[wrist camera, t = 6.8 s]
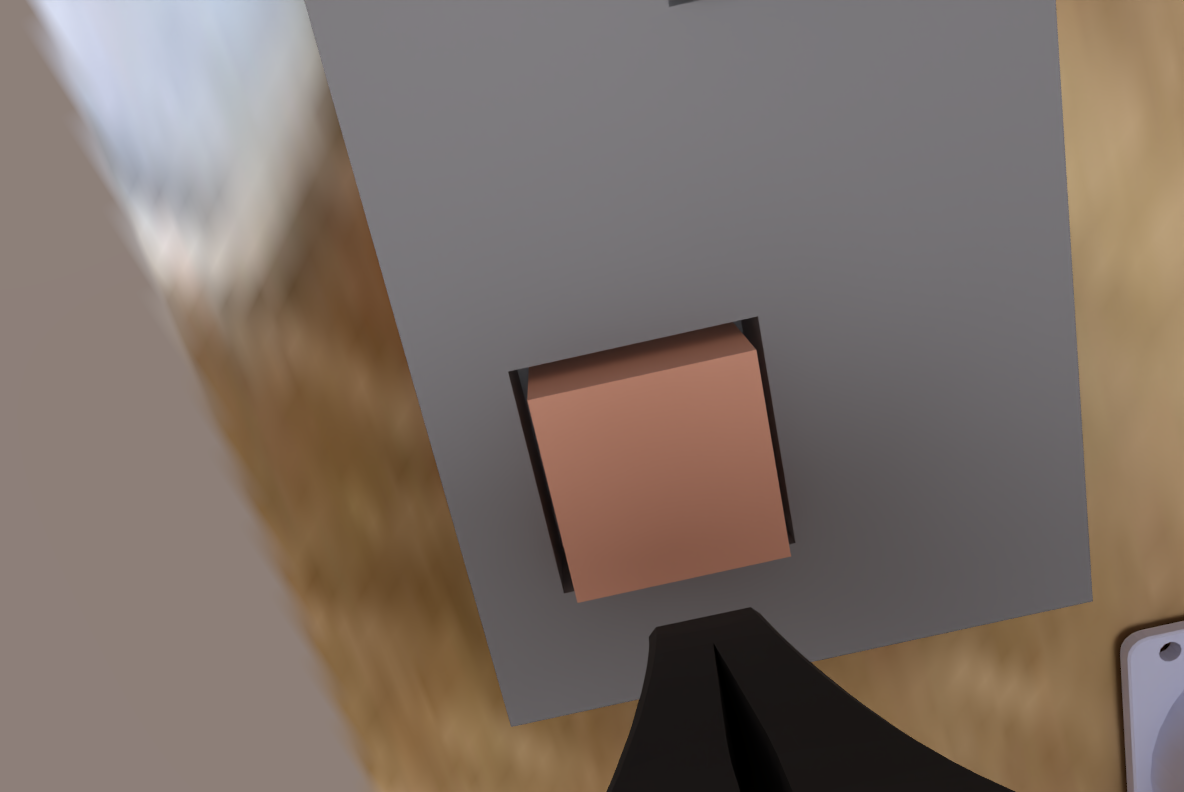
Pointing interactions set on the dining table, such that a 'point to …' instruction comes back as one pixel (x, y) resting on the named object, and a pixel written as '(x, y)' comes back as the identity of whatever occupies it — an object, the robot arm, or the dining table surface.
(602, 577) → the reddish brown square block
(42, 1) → the dining table surface
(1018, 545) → the key panel
